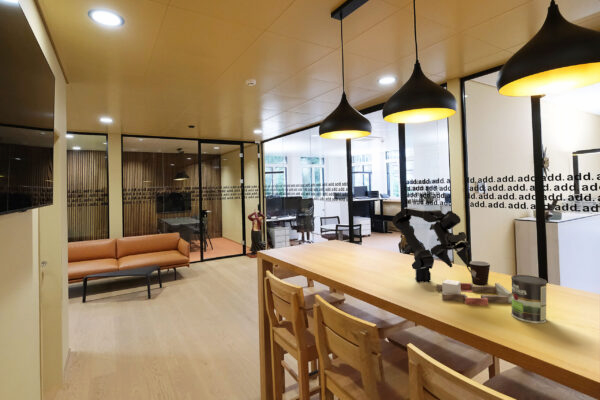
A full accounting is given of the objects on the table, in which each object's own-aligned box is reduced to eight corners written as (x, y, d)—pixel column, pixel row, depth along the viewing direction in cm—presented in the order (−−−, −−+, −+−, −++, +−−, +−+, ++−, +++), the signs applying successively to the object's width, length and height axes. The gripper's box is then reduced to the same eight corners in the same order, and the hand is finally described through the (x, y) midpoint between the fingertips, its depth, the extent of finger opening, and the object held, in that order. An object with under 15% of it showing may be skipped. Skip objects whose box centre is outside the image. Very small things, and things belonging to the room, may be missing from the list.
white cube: (460, 294, 135) (460, 281, 135) (457, 299, 131) (457, 285, 130) (446, 292, 139) (445, 279, 139) (442, 296, 135) (442, 282, 134)
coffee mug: (493, 286, 144) (493, 265, 144) (473, 286, 146) (473, 265, 145) (483, 279, 155) (483, 259, 155) (465, 278, 157) (465, 259, 157)
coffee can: (527, 324, 105) (527, 284, 105) (504, 312, 115) (504, 275, 115) (554, 322, 106) (554, 282, 105) (530, 310, 116) (529, 274, 116)
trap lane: (444, 303, 126) (444, 293, 126) (434, 287, 146) (434, 278, 146) (516, 306, 120) (516, 296, 120) (495, 289, 140) (495, 280, 140)
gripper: (438, 227, 133) (456, 261, 125) (470, 224, 139) (488, 256, 131) (423, 238, 141) (438, 270, 134) (453, 235, 148) (470, 265, 140)
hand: (459, 265), depth 134 cm, fingers open, 9 cm apart
